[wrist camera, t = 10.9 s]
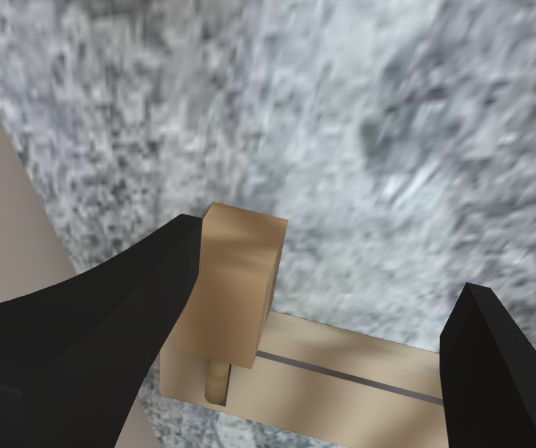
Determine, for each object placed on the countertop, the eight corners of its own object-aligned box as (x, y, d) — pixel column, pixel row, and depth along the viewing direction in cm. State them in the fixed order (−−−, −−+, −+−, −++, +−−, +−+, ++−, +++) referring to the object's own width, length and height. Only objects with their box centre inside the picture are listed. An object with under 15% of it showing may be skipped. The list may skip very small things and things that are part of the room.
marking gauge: (288, 219, 25) (268, 280, 21) (260, 358, 32) (241, 427, 27) (213, 201, 26) (179, 258, 22) (201, 342, 32) (173, 407, 28)
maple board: (512, 372, 28) (519, 404, 26) (460, 450, 32) (464, 481, 30) (173, 285, 29) (159, 309, 28) (170, 370, 34) (158, 395, 32)
